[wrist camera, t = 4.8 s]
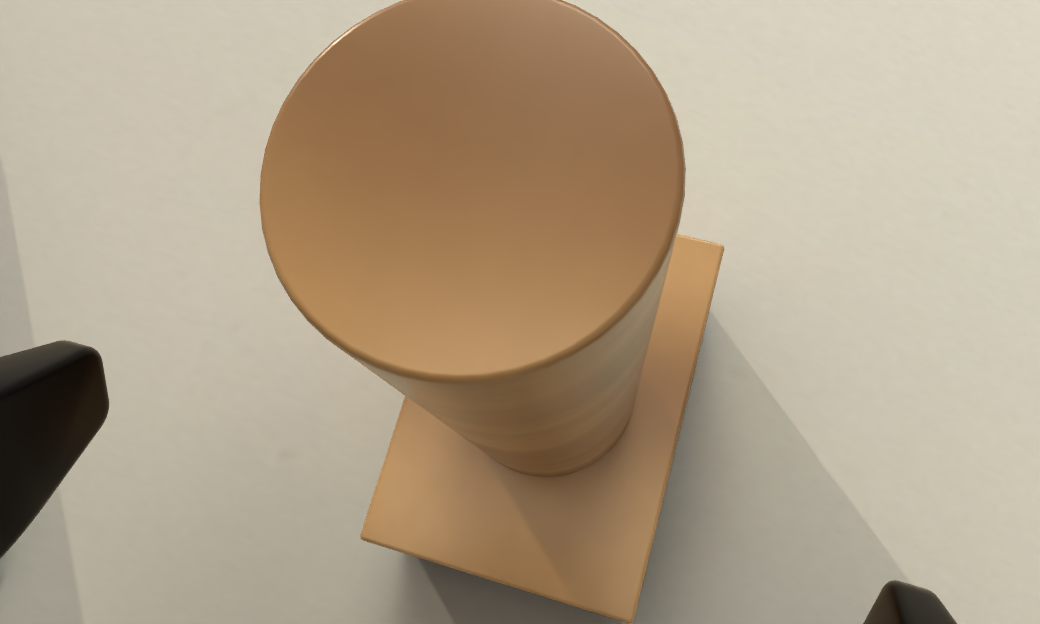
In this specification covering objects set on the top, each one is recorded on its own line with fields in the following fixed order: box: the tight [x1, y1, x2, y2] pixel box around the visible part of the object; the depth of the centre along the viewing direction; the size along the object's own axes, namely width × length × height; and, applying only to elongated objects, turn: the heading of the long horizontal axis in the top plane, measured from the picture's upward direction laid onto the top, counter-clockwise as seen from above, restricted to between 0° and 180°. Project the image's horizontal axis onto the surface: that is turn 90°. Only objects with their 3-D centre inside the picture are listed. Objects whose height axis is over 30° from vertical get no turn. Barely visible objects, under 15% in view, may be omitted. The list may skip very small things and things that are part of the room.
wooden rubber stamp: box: [260, 0, 724, 623], centre depth 12 cm, size 7×5×13 cm
